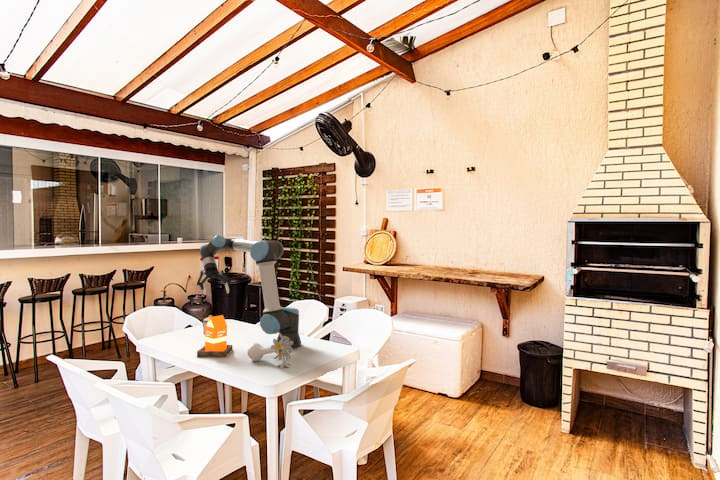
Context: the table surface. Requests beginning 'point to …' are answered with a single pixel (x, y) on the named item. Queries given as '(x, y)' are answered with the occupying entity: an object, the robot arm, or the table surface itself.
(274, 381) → the table surface
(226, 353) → the walnut tray
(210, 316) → the teacup with lid
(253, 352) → the flower vase
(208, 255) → the robot arm
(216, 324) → the orange juice
